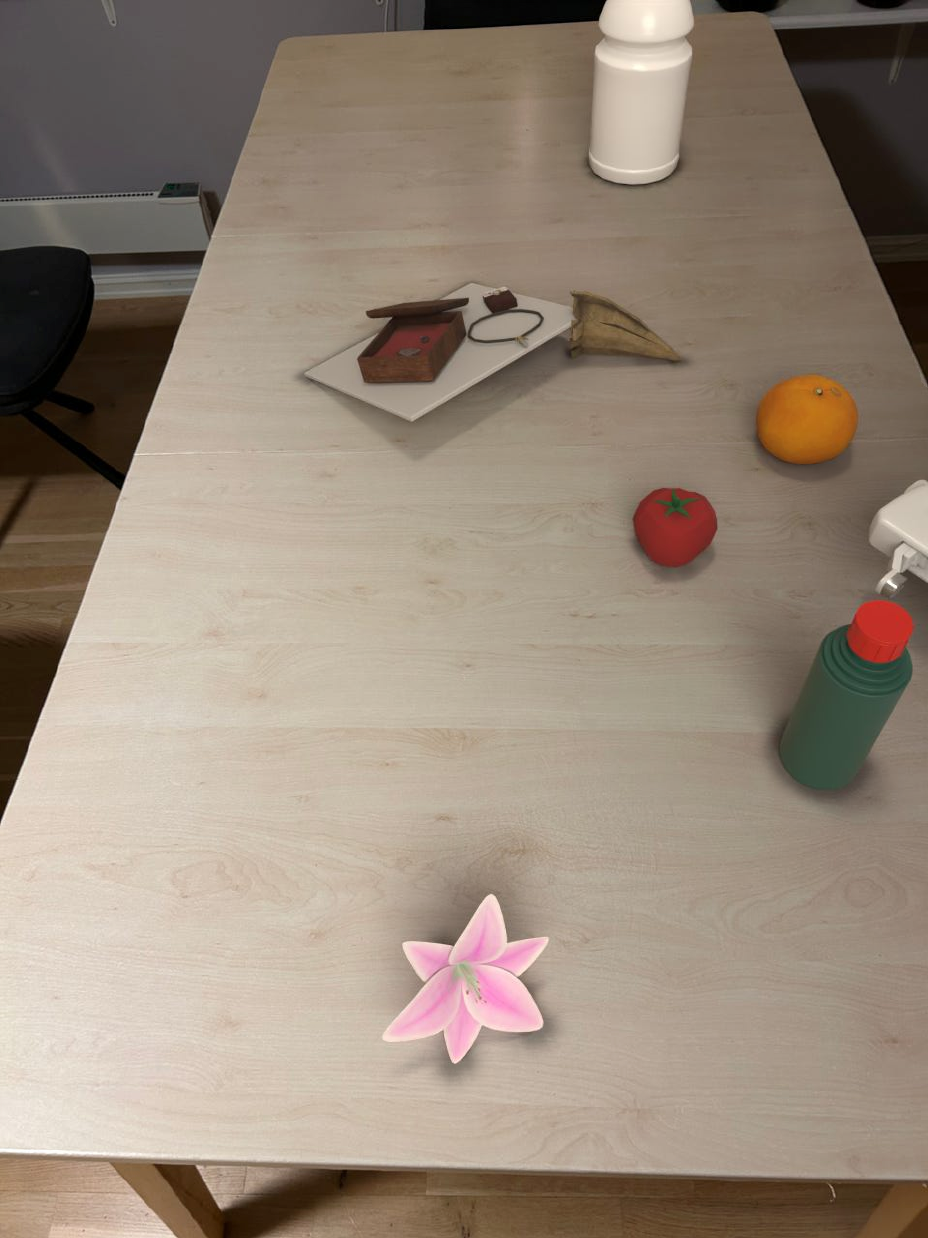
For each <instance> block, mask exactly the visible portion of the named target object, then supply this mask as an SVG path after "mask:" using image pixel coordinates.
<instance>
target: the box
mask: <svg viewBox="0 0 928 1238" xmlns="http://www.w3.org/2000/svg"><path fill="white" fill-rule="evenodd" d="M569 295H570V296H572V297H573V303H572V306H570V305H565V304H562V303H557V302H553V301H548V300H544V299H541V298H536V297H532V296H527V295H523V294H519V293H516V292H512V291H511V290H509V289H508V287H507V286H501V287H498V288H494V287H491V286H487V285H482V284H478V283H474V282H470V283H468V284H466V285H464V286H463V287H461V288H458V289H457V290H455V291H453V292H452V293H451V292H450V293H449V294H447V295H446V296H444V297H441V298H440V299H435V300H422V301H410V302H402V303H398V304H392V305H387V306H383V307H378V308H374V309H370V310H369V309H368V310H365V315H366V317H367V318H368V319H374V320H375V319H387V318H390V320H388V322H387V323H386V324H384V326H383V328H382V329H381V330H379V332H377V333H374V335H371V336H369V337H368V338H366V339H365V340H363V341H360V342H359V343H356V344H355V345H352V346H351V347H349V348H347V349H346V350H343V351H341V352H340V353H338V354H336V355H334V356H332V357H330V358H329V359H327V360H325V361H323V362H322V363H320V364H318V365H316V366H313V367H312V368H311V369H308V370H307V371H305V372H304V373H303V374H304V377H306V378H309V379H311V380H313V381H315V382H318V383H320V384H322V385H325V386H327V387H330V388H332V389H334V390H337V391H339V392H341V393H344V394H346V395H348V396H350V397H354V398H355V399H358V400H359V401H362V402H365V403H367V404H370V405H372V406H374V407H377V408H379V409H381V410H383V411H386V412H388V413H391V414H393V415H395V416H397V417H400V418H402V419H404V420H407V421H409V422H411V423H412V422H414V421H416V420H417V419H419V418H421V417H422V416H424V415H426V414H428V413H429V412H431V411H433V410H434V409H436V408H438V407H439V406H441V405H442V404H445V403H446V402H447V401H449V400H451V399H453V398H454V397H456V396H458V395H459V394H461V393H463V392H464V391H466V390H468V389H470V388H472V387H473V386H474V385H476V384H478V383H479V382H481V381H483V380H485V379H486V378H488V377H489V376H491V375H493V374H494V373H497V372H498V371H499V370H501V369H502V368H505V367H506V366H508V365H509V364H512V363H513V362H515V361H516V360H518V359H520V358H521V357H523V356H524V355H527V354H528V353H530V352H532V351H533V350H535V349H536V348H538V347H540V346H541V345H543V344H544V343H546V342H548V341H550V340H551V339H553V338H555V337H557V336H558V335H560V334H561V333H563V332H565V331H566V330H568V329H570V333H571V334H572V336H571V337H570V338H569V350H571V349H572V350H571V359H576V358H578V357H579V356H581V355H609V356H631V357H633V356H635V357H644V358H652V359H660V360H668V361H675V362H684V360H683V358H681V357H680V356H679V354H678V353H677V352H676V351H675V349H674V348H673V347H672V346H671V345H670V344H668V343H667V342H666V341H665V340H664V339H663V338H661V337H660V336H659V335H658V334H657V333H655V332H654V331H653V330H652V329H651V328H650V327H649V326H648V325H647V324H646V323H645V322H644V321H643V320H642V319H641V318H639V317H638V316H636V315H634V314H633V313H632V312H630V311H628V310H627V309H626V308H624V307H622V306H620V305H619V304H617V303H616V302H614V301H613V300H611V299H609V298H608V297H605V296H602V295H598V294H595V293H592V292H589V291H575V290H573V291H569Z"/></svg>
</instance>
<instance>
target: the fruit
mask: <svg viewBox="0 0 928 1238" xmlns="http://www.w3.org/2000/svg"><path fill="white" fill-rule="evenodd" d="M858 411H859V410H858V407H857V404H856V401H855V399H854V398H853V396H852V395H851V394H850V392H849V391H848V390H847V389H846V388H845V387H843V385H841V384H840V383H839V382H837V381H835V380H833V379H832V378H829V377H826V376H822V375H819V374H813V373H811V374H805V375H796V376H793V377H789V378H787V379H784V380H782V381H780V382H778V383H776V384H775V385H774V386H772V387H771V388H770V389H768V391H767V392H766V393H765V394H764V395H763V397H762V398H761V400H760V401H759V403H758V406H757V410H756V415H755V426H756V433H757V436H758V439H759V440H760V443H761V444H762V446H763V447H764V449H765V450H766V451H767V452H768V453H770V455H772V456H774V457H776V458H777V459H779V460H781V461H784V462H786V463H789V464H793V465H814V464H819V463H823V462H827V461H830V460H832V459H834V458H836V457H837V456H839V455H840V454H842V453H843V452H844V451H845V450H846V448H847V447H848V446H849V445H850V444H851V442H852V440H853V439H854V437H855V435H856V432H857V430H858V429H857V428H858V424H859V412H858Z"/></svg>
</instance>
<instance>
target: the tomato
mask: <svg viewBox="0 0 928 1238" xmlns="http://www.w3.org/2000/svg"><path fill="white" fill-rule="evenodd" d="M632 524H633V529H634V536H635V537H636V539H637V541H638V542H639V544H640V546H641V547H642V548H643V550H644V552H645V553H646V554H647V556H648V557H649V559H650V561H652V562H653V563H655V564H657V565H659V566H661V567H670V568H679V567H682V566H686V565H688V564H689V563H691V562H692V561H694V560H695V559H697V557H698V556H699V555H700V554H701V553H703V552H704V551H705V550H707V548H708V547H710V545H711V543H712V542H713V540H714V538H715V535H716V533H717V531H718V518H717V513H716V510H715V508H714V506H713V505H712V503H711V502H710V501H709V499H708V498H707V497H706V496H705V495H704V494H701V493H699V492H697V491H688V490H686V489H684V488H681V487H662V488H661V487H660V488H658V489H654V490H652V491H651V492H650V493H648V494H647V495H646V496H645V497H644V498H643V499H642V500H641V501H639V503H638V506H637V508H636V509H635V512H634V514H633V517H632Z"/></svg>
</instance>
